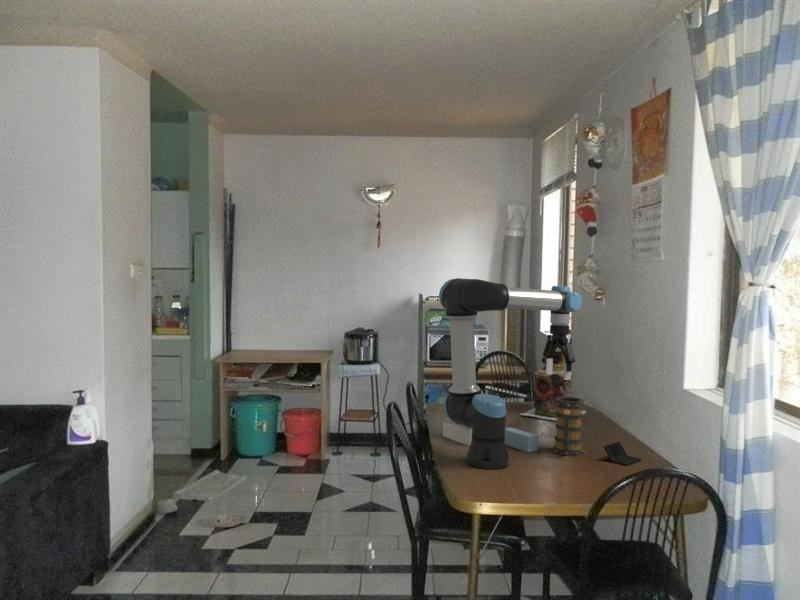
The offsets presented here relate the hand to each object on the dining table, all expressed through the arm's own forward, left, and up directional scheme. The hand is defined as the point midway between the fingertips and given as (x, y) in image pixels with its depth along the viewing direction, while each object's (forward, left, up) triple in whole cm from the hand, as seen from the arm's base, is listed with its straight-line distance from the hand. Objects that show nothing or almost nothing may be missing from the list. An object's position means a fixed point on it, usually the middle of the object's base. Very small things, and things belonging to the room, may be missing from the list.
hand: (557, 377), depth 266 cm
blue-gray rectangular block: (-21, -1, -26) cm, 33 cm away
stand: (-31, +17, -26) cm, 43 cm away
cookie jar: (+32, +35, -26) cm, 54 cm away
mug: (-11, -17, -26) cm, 33 cm away
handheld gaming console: (0, -33, -26) cm, 42 cm away
